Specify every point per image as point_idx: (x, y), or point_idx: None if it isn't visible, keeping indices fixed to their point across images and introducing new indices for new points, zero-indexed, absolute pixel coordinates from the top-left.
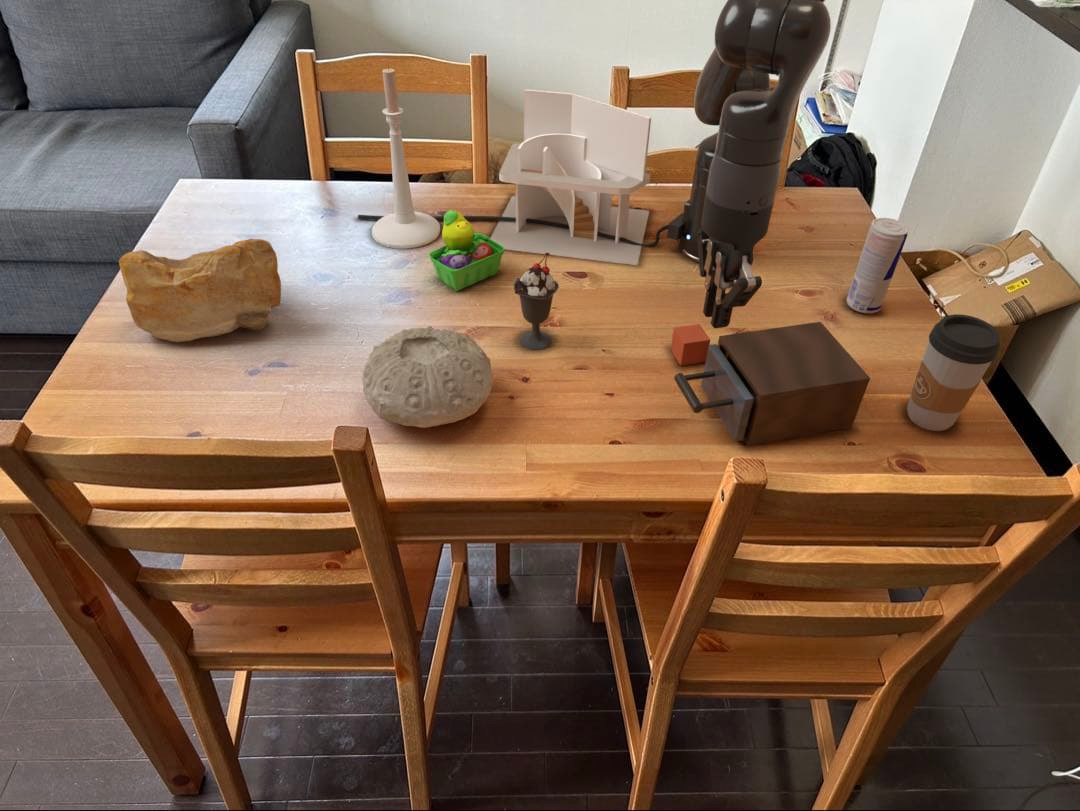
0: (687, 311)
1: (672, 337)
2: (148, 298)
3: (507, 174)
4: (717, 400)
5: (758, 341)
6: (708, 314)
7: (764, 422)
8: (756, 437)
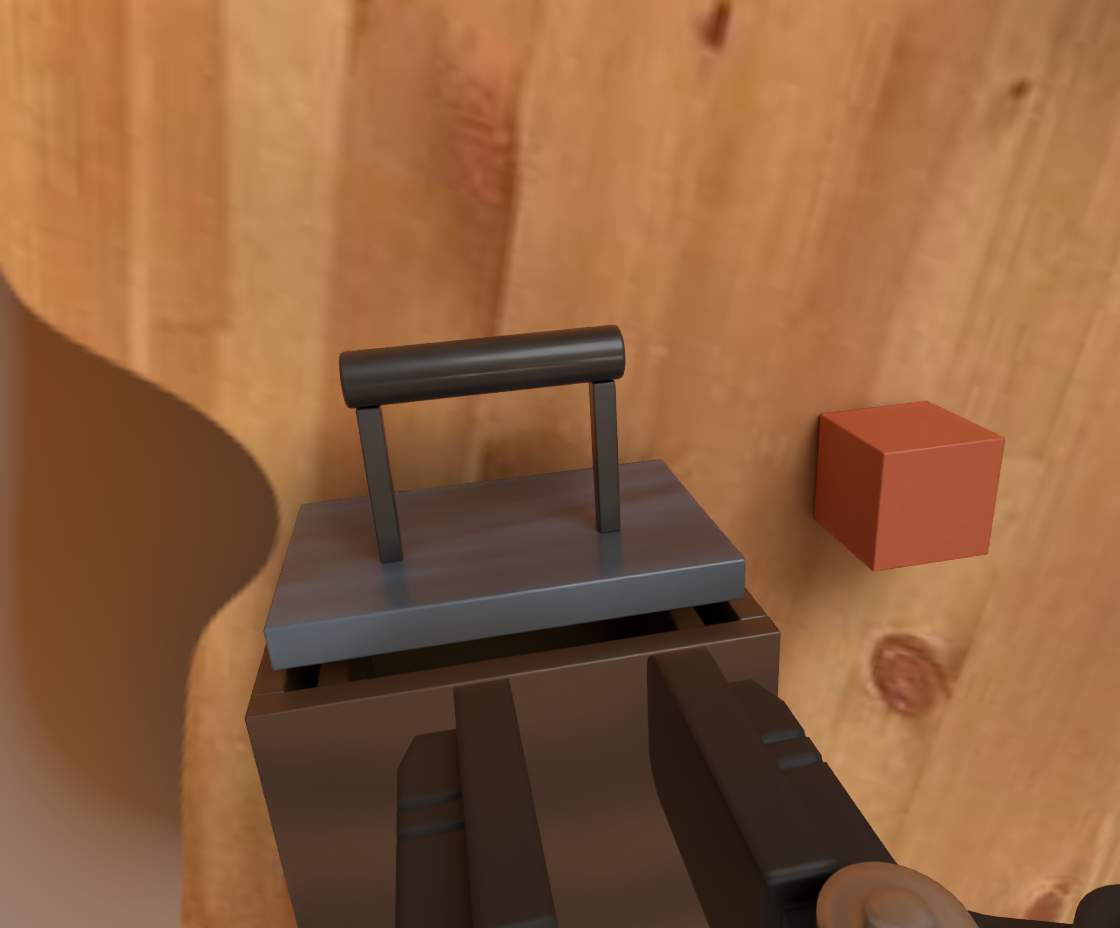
0: (1115, 527)
1: (966, 420)
2: None
3: None
4: (511, 498)
5: None
6: (654, 690)
7: None
8: None
